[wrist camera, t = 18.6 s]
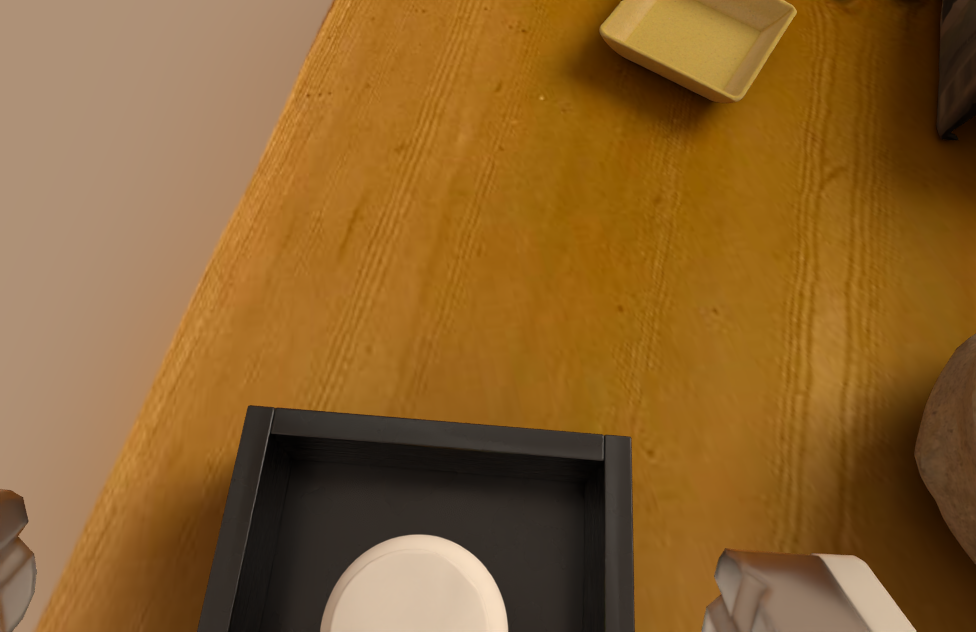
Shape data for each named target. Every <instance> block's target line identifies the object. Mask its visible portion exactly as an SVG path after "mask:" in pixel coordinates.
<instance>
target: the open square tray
mask: <svg viewBox="0 0 976 632" xmlns="http://www.w3.org/2000/svg"><path fill="white" fill-rule="evenodd" d="M406 535H431V536H437V537H441V538H444V539H447V540H449V541H452V542H454V543H456V544H458V545H460V546H462V547H463V548H465V549H466V550H468V551H469V552H470V553H472V554H473V555H474V556H475V557H476V558H477V559H478V560H479V561H480V562H481V563H482V564H483V565H484V566H485V567H486V569H487V570H488V572H489V573H490V574H491V576H492V577H493V579H494V581H495V583H496V585H497V587H498V589H499V591H500V593H501V596H502V599H503V602H504V605H505V610H506V615H507V622H508V632H635V618H634V560H633V502H632V444H631V437H628V436H616V435H602V434H591V433H578V432H566V431H554V430H542V429H530V428H518V427H506V426H494V425H482V424H470V423H458V422H446V421H434V420H422V419H410V418H398V417H386V416H374V415H362V414H349V413H337V412H325V411H313V410H301V409H289V408H276V409H275V408H274V407H264V406H252V405H250V406H248V408H247V413H246V417H245V421H244V426H243V430H242V435H241V439H240V444H239V448H238V452H237V457H236V461H235V466H234V470H233V475H232V479H231V483H230V488H229V492H228V497H227V501H226V506H225V510H224V514H223V519H222V523H221V528H220V532H219V537H218V541H217V545H216V550H215V554H214V559H213V563H212V568H211V572H210V576H209V581H208V585H207V590H206V594H205V599H204V603H203V607H202V612H201V616H200V621H199V625H198V630H197V632H320V628H321V623H322V617H323V614H324V610H325V607H326V604H327V602H328V599H329V597H330V594H331V592H332V590H333V588H334V587H335V585H336V583H337V582H338V580H339V579H340V577H341V576H342V574H343V573H344V572H345V571H346V569H347V568H348V567H349V566H350V565H351V564H352V563H353V562H354V561H355V560H356V559H357V558H358V557H360V556H361V555H362V554H363V553H365V552H366V551H368V550H369V549H371V548H372V547H374V546H376V545H378V544H380V543H382V542H384V541H387V540H389V539H392V538H396V537H400V536H406Z"/></svg>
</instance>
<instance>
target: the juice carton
mask: <svg viewBox="0 0 976 632" xmlns="http://www.w3.org/2000/svg"><path fill="white" fill-rule="evenodd" d="M940 28H941V32H940V55H939V73H940V78H939V87H938V106H937V107H938V110H937V125H936V128H937V131H938V133H939V136H940V138H941V139H944V140H958V139H959V138H958V137H957V136H956V135H955V134H953V133H951V132H952V131H953V130H955V129H956V128H958V127H959V126H961V125H962V124H964V123H965V122H967V121H968V120H969V119H971V118H972V117H974V116H975V115H976V0H942V11H941V21H940Z"/></svg>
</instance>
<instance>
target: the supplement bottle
mask: <svg viewBox="0 0 976 632" xmlns="http://www.w3.org/2000/svg"><path fill="white" fill-rule="evenodd" d="M320 632H508V622H507V615H506V610H505V605H504V602H503V599H502V596H501V593H500V591H499V589H498V587H497V585H496V583H495V581H494V579H493V577H492V576H491V574H490V573H489V572H488V570H487V569H486V567H485V566H484V565H483V564H482V563H481V562H480V561H479V560H478V559H477V558H476V557H475V556H474V555H473V554H472V553H470V552H469V551H468V550H466V549H465V548H463V547H462V546H460V545H458V544H456V543H454V542H452V541H449V540H447V539H444V538H441V537H437V536H431V535H406V536H400V537H396V538H392V539H389V540H387V541H384V542H382V543H380V544H378V545H376V546H374V547H372V548H371V549H369V550H368V551H366V552H365V553H363V554H362V555H361V556H360V557H358V558H357V559H356V560H355V561H354V562H353V563H352V564H351V565H350V566H349V567H348V568H347V569H346V571H345V572H344V573H343V574H342V576H341V577H340V579H339V580H338V582H337V583H336V585H335V587H334V588H333V590H332V592H331V594H330V597H329V599H328V602H327V604H326V607H325V610H324V614H323V617H322V623H321V628H320Z"/></svg>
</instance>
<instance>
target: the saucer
mask: <svg viewBox="0 0 976 632" xmlns="http://www.w3.org/2000/svg"><path fill="white" fill-rule="evenodd" d="M796 13H797V12H796V9H795V8H794V7H793V6H792V5H791V4H789V3H787V2H786V1H783V0H622V1H621V2H620V3H619V5H618V6H617V7H616V8H615V10H614V11H613V12H612V13H611V14H610V16H609V17H608V18H607V19H606V21H604V23H603V24H602V25H601V26H600V29H599V32H600V34H601V36H602V38H603V39H604V41H605V42H606V43H607V44H608V45H609V46H610V47H611V48H612V49H613V50H614V51H615V52H616V53H618V54H619V55H621V56H622V57H624V58H626V59H628V60H630V61H632V62H634V63H636V64H638V65H641V66H643V67H645V68H647V69H649V70H651V71H653V72H655V73H657V74H659V75H661V76H663V77H665V78H667V79H669V80H671V81H673V82H675V83H677V84H679V85H681V86H683V87H685V88H687V89H689V90H691V91H693V92H695V93H697V94H699V95H701V96H703V97H705V98H707V99H709V100H711V101H714V102H719V103H733V102H737V101H739V100H741V99H742V98H743V97H744V95H745V94H746V92H747V91H748V89H749V87H750V86H751V84H752V83H753V81H754V79H755V78H756V76H757V75H758V73H759V71H760V70H761V68H762V67H763V65H764V63H765V62H766V61H767V59H768V57H769V55H770V54H771V52H772V51H773V49H774V48H775V46H776V44H777V43H778V41H779V40H780V38H781V36H782V35H783V33H784V32H785V30H786V29H787V27H788V25H789V24H790V23H791V21H792V19H793V18H794V16H795V15H796Z"/></svg>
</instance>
